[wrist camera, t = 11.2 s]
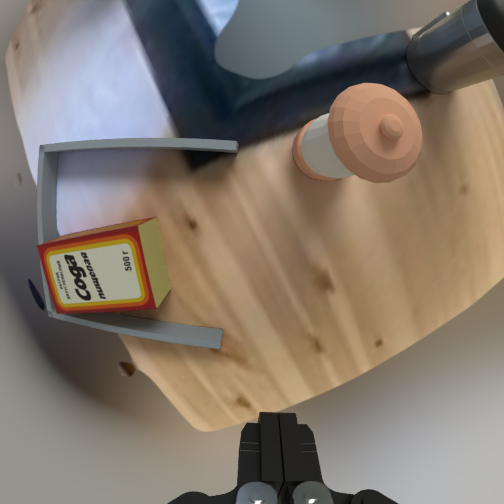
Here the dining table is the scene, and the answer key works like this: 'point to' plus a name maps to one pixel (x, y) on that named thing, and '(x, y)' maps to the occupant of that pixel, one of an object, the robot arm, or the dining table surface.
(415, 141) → the pepper shaker
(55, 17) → the dining table surface
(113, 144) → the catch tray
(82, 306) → the baking soda box
